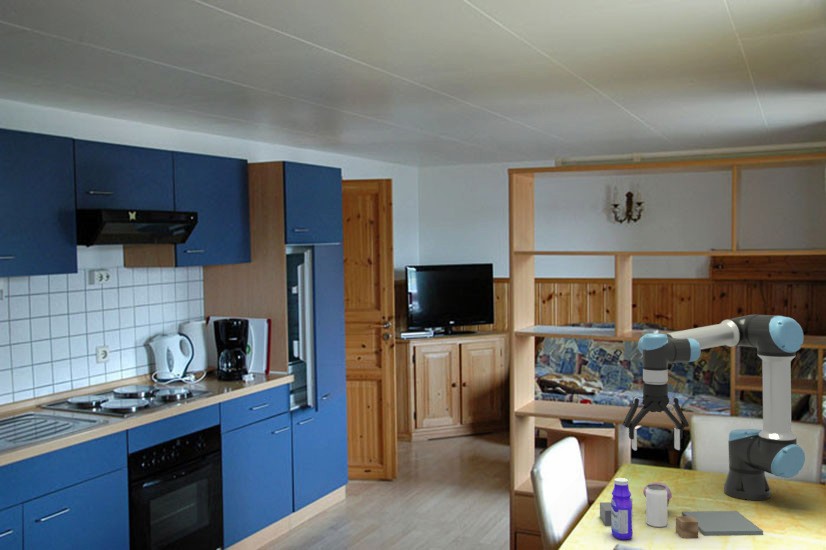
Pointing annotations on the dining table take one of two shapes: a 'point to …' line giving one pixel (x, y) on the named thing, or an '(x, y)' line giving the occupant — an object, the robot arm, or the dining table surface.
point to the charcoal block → (605, 513)
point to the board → (723, 523)
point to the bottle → (621, 510)
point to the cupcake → (666, 490)
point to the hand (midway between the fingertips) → (655, 449)
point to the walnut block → (686, 527)
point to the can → (656, 505)
